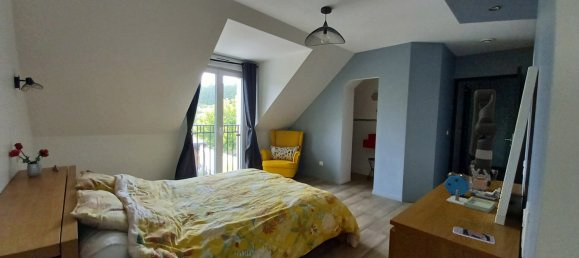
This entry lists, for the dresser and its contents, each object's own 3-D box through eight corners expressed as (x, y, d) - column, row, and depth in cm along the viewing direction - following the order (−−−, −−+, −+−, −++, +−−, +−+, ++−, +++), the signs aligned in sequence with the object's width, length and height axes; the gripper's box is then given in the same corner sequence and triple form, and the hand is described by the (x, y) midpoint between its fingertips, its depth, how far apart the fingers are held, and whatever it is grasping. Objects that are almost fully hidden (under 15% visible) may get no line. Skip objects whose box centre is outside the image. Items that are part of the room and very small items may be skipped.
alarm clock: (469, 196, 159) (470, 174, 158) (467, 198, 155) (469, 176, 153) (446, 191, 168) (447, 170, 167) (443, 193, 164) (445, 171, 163)
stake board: (452, 196, 158) (453, 185, 158) (469, 200, 151) (470, 189, 151) (446, 200, 150) (446, 189, 149) (463, 205, 143) (464, 194, 142)
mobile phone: (495, 243, 101) (452, 231, 111) (495, 245, 101) (452, 233, 111) (494, 235, 107) (453, 225, 116) (493, 238, 107) (453, 227, 117)
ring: (477, 183, 147) (477, 176, 147) (489, 185, 142) (490, 178, 142) (472, 186, 140) (473, 179, 139) (485, 189, 135) (486, 181, 135)
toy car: (466, 181, 161) (469, 178, 169) (465, 195, 162) (468, 191, 170) (502, 188, 148) (503, 184, 157) (500, 203, 149) (501, 198, 157)
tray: (471, 200, 152) (471, 196, 152) (494, 206, 143) (495, 202, 143) (464, 206, 142) (464, 202, 142) (489, 213, 133) (489, 208, 133)
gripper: (501, 158, 136) (498, 187, 138) (470, 154, 147) (468, 181, 149) (498, 160, 131) (495, 190, 133) (466, 156, 142) (464, 183, 144)
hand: (481, 185), depth 141 cm, fingers closed on ring, 6 cm apart
